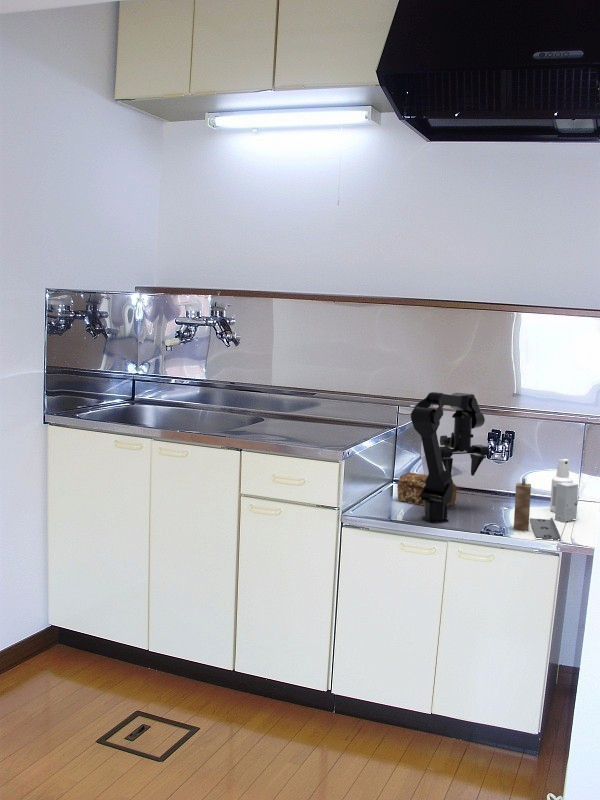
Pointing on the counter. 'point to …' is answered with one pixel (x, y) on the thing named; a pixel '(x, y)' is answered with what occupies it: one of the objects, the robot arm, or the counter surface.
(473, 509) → the counter surface
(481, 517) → the counter surface
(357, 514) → the counter surface
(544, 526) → the flange strip
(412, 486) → the bread
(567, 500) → the skincare box
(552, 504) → the spray bottle
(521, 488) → the post
